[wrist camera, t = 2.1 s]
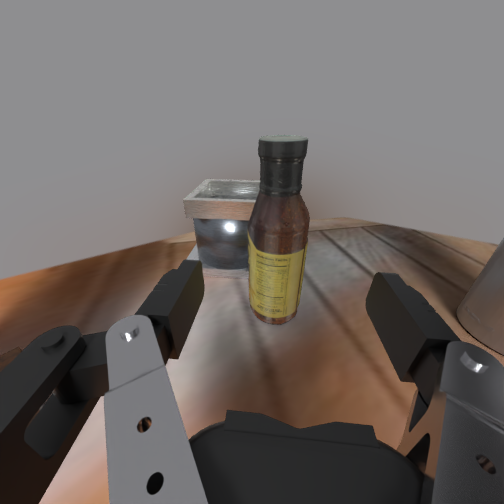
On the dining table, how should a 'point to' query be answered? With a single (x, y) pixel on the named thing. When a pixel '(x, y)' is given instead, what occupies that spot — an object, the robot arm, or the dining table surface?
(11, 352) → the white tower
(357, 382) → the dining table surface
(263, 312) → the sauce bottle
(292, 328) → the dining table surface
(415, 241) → the dining table surface
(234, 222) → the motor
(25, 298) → the dining table surface
